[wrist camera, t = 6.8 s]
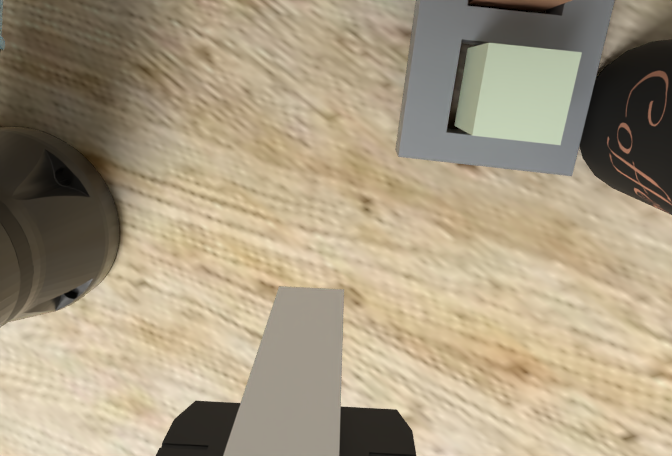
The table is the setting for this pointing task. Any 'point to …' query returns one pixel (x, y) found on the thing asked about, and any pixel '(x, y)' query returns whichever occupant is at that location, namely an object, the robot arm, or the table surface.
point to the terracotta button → (521, 4)
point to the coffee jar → (633, 125)
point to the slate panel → (503, 28)
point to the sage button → (516, 92)
